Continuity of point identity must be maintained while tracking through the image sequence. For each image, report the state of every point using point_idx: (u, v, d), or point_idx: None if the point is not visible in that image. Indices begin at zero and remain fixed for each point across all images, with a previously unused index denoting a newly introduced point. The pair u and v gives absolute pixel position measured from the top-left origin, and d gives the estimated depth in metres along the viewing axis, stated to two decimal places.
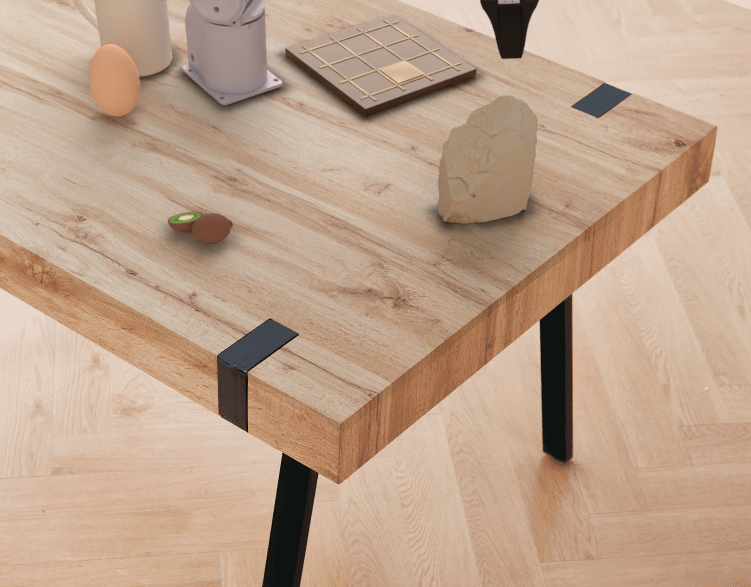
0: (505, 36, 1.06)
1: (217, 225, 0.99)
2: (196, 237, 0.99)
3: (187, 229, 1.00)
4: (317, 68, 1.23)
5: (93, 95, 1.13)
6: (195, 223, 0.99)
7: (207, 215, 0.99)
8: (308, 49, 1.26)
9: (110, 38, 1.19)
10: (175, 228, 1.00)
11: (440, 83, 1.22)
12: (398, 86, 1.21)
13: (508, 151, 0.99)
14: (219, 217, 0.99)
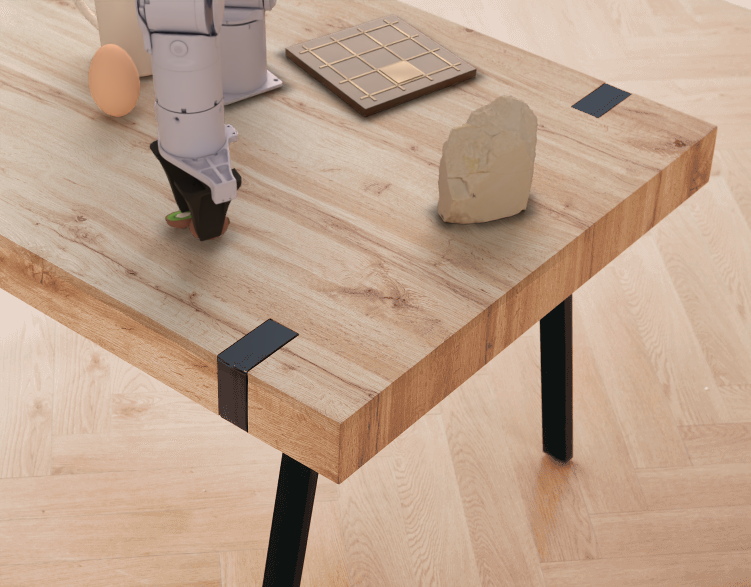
0: (204, 219, 0.97)
1: None
2: (194, 234, 0.99)
3: (185, 226, 1.01)
4: (317, 68, 1.23)
5: (93, 95, 1.13)
6: None
7: None
8: (308, 49, 1.26)
9: (110, 38, 1.19)
10: (173, 225, 1.00)
11: (440, 83, 1.22)
12: (398, 86, 1.21)
13: (508, 151, 0.99)
14: None
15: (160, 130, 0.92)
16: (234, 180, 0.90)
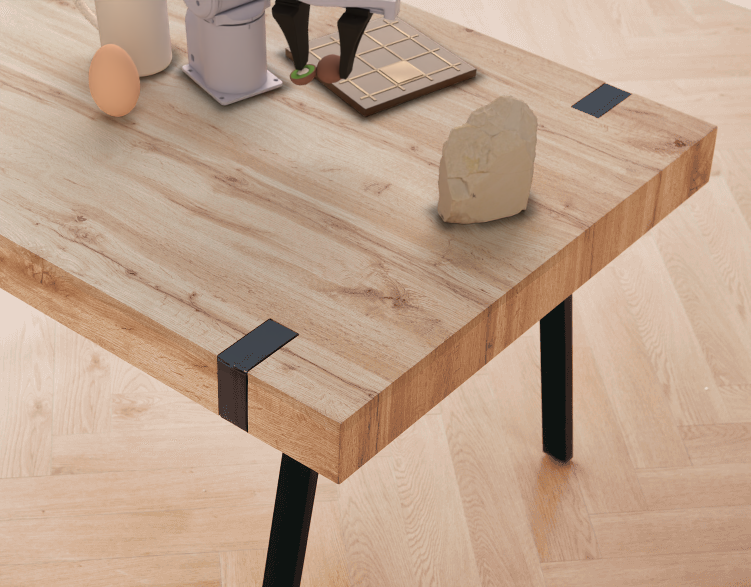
0: None
1: None
2: (331, 79, 1.08)
3: (312, 79, 1.08)
4: None
5: (93, 95, 1.13)
6: (324, 67, 1.07)
7: (326, 57, 1.08)
8: None
9: (110, 38, 1.19)
10: (305, 82, 1.07)
11: (440, 83, 1.22)
12: (398, 86, 1.21)
13: (508, 151, 0.99)
14: (335, 55, 1.09)
15: None
16: None
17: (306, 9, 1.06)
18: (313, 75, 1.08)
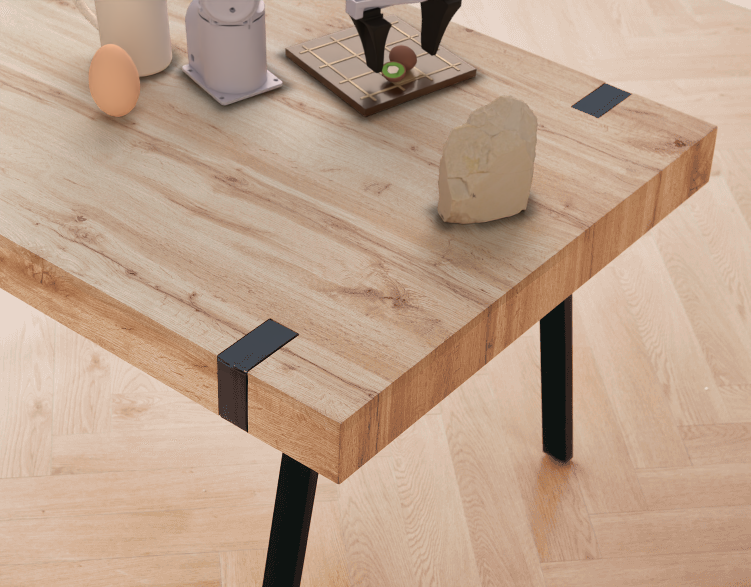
0: None
1: None
2: (415, 64, 1.22)
3: None
4: (317, 68, 1.23)
5: (93, 95, 1.13)
6: (408, 57, 1.21)
7: (400, 50, 1.22)
8: (308, 49, 1.26)
9: (110, 38, 1.19)
10: (404, 75, 1.20)
11: (440, 83, 1.22)
12: (398, 86, 1.21)
13: (508, 151, 0.99)
14: (400, 46, 1.22)
15: None
16: None
17: None
18: None
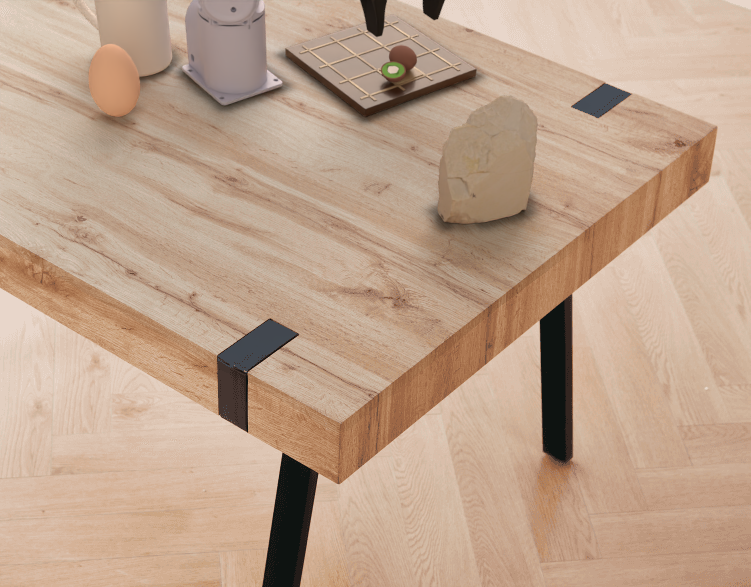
0: None
1: None
2: (415, 64, 1.22)
3: None
4: (317, 68, 1.23)
5: (93, 95, 1.13)
6: (408, 57, 1.21)
7: (400, 50, 1.22)
8: (308, 49, 1.26)
9: (110, 38, 1.19)
10: (404, 75, 1.20)
11: (440, 83, 1.22)
12: (398, 86, 1.21)
13: (508, 151, 0.99)
14: (400, 46, 1.22)
15: None
16: None
17: None
18: None
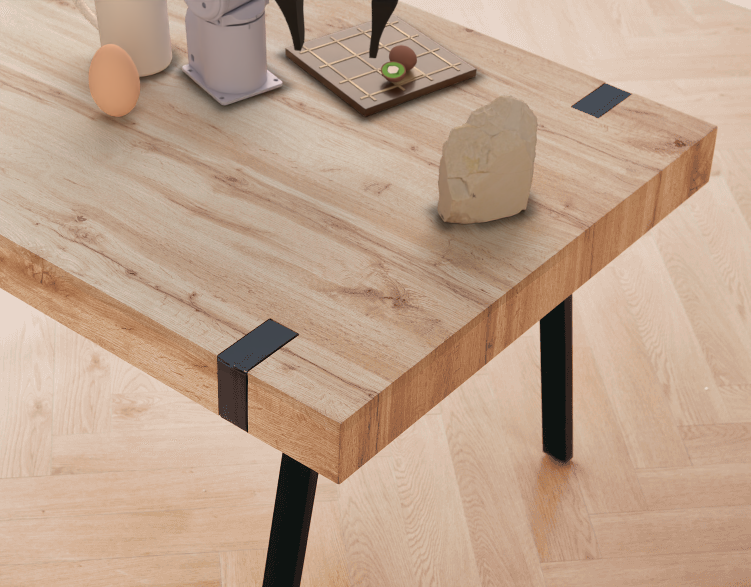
0: None
1: None
2: (415, 64, 1.22)
3: None
4: (317, 68, 1.23)
5: (93, 95, 1.13)
6: (408, 57, 1.21)
7: (400, 50, 1.22)
8: (308, 49, 1.26)
9: (110, 38, 1.19)
10: (404, 75, 1.20)
11: (440, 83, 1.22)
12: (398, 86, 1.21)
13: (508, 151, 0.99)
14: (400, 46, 1.22)
15: None
16: None
17: None
18: None
